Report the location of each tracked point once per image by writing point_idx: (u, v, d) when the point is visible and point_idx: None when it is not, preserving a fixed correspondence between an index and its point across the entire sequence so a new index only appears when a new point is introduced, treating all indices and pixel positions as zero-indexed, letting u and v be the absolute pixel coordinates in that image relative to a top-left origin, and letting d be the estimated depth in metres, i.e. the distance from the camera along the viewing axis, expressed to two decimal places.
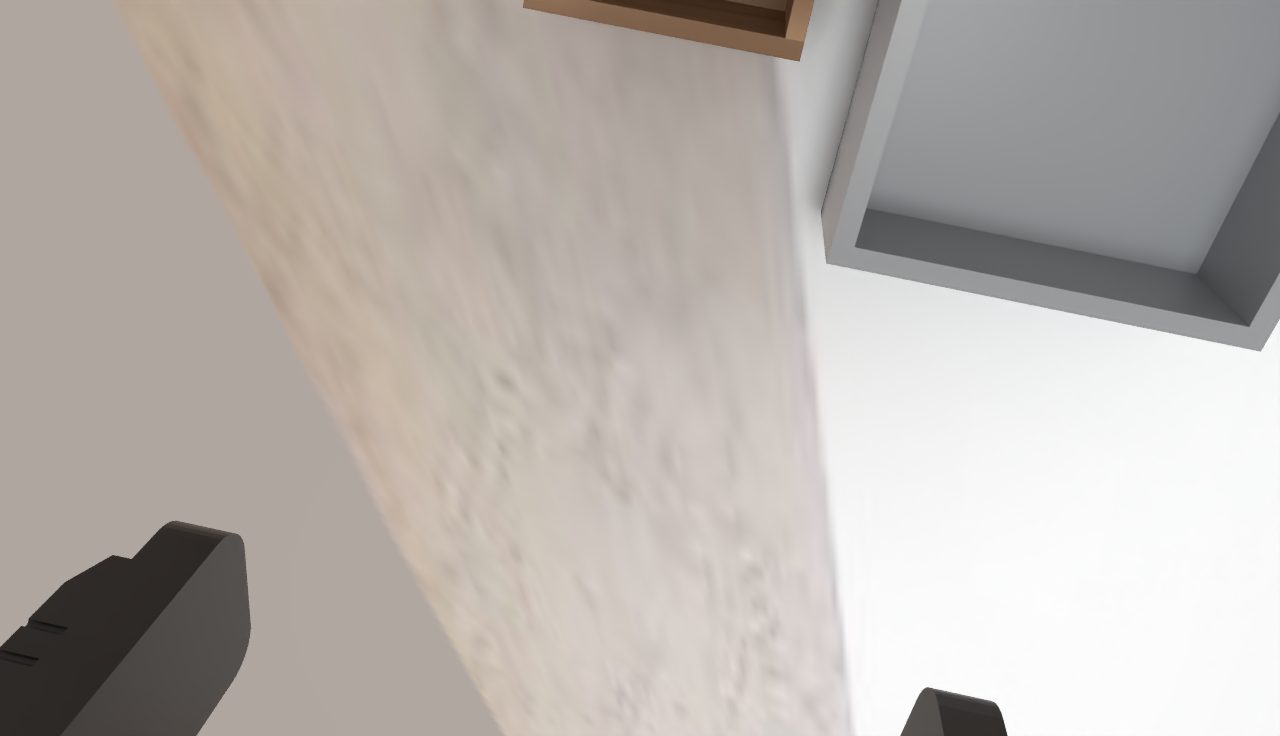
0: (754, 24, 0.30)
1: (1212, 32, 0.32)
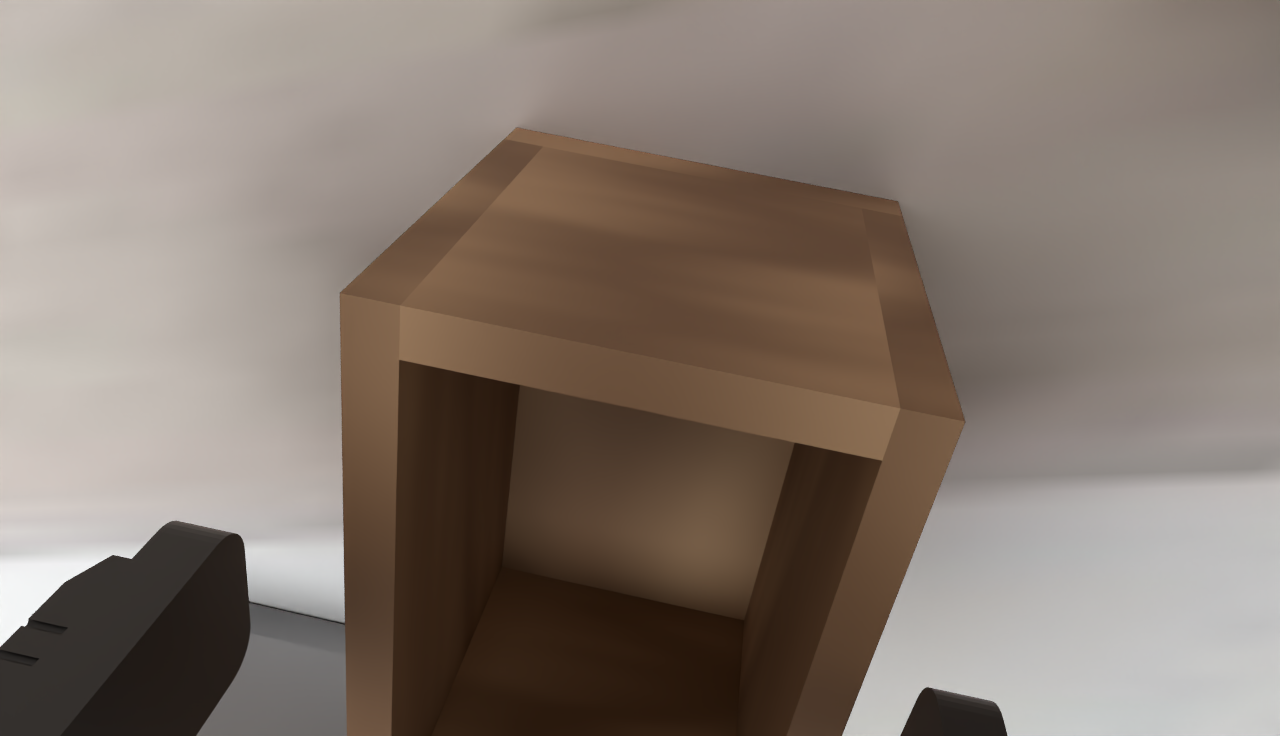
0: (428, 702, 0.14)
1: None
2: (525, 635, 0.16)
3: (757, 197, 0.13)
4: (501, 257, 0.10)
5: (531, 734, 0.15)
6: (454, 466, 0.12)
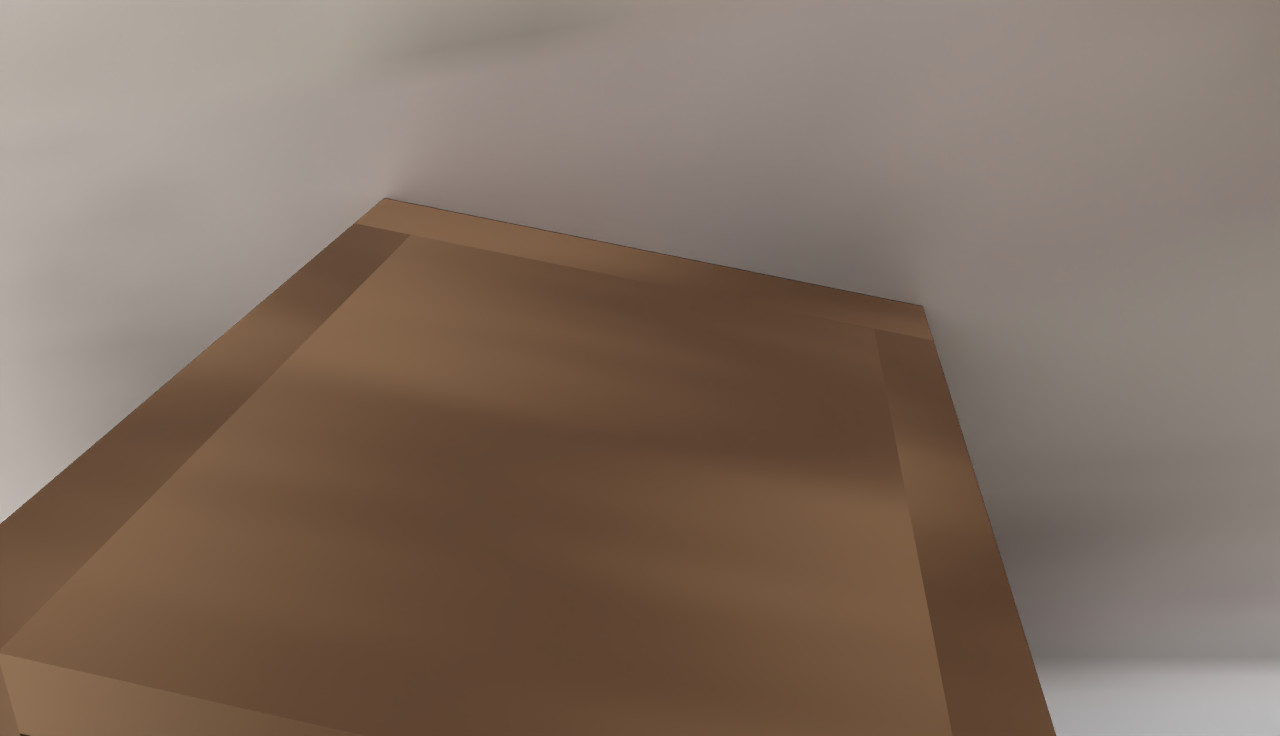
0: None
1: None
2: None
3: (721, 315, 0.09)
4: (260, 489, 0.06)
5: None
6: None
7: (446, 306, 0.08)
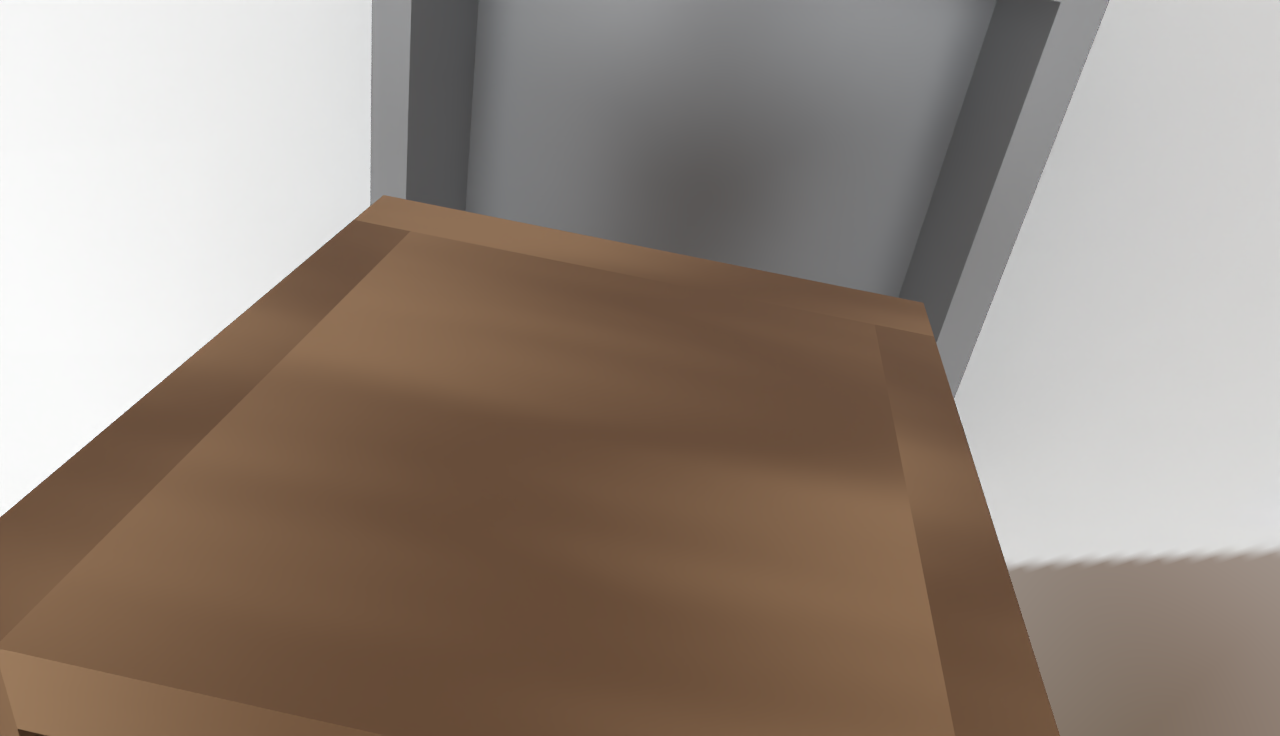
0: None
1: None
2: None
3: (721, 311, 0.09)
4: (259, 483, 0.06)
5: None
6: None
7: (445, 302, 0.08)
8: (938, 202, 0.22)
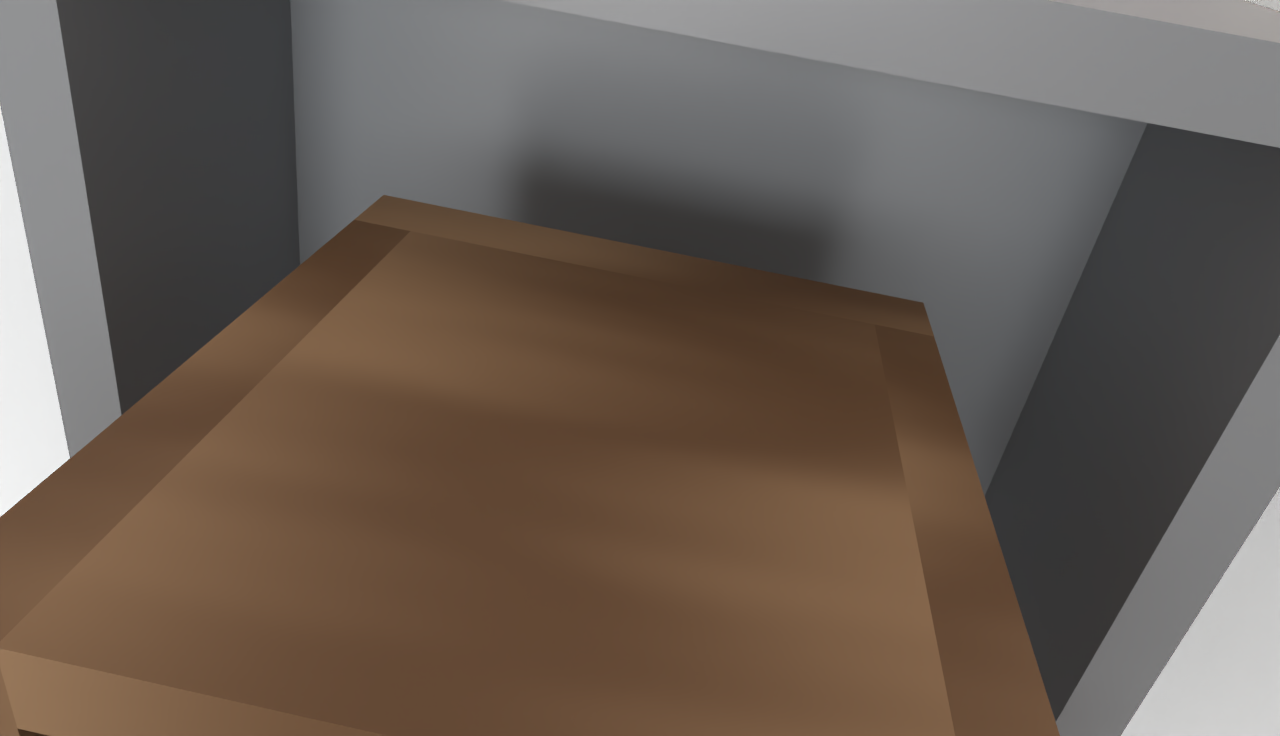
0: None
1: None
2: None
3: (721, 311, 0.09)
4: (259, 483, 0.06)
5: None
6: None
7: (446, 302, 0.08)
8: (1042, 422, 0.14)
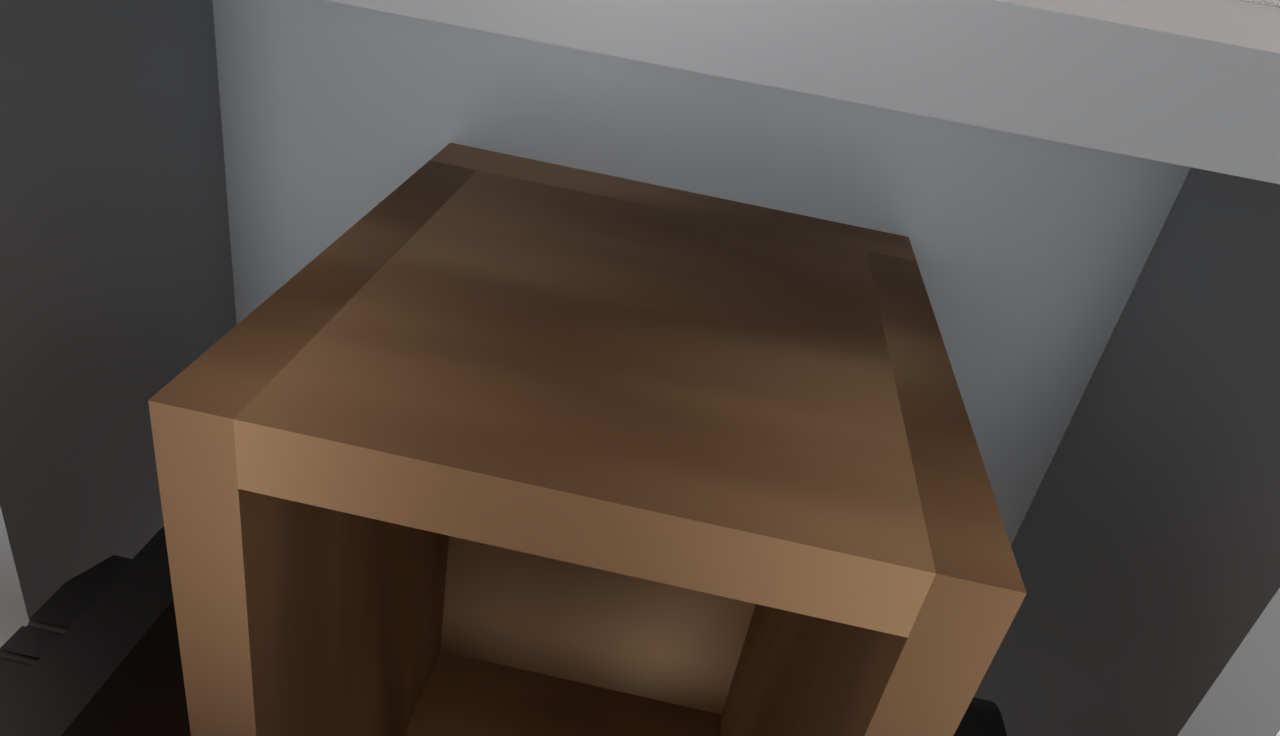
0: None
1: None
2: None
3: (739, 236, 0.11)
4: (394, 334, 0.07)
5: None
6: (355, 577, 0.10)
7: (514, 222, 0.10)
8: (1071, 489, 0.12)
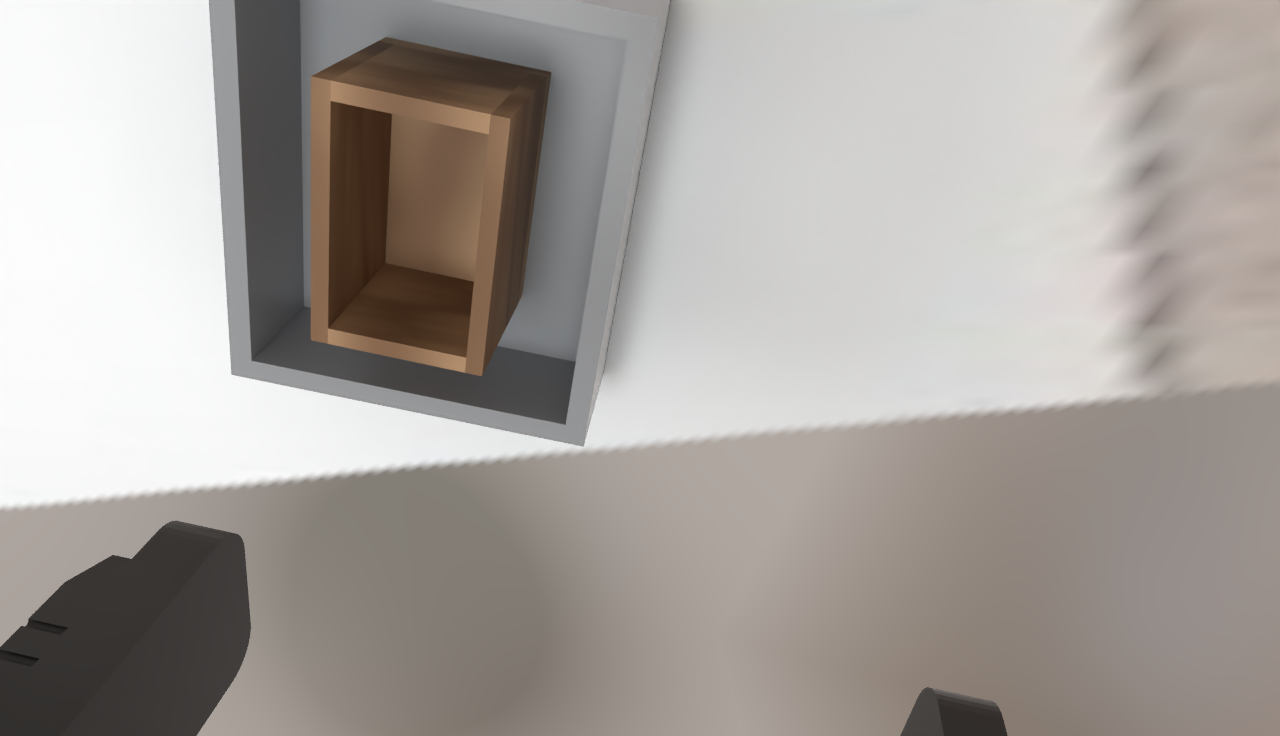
0: (345, 283, 0.32)
1: None
2: (394, 283, 0.35)
3: (484, 66, 0.31)
4: (367, 73, 0.28)
5: (392, 310, 0.33)
6: (354, 169, 0.30)
7: (405, 57, 0.31)
8: None
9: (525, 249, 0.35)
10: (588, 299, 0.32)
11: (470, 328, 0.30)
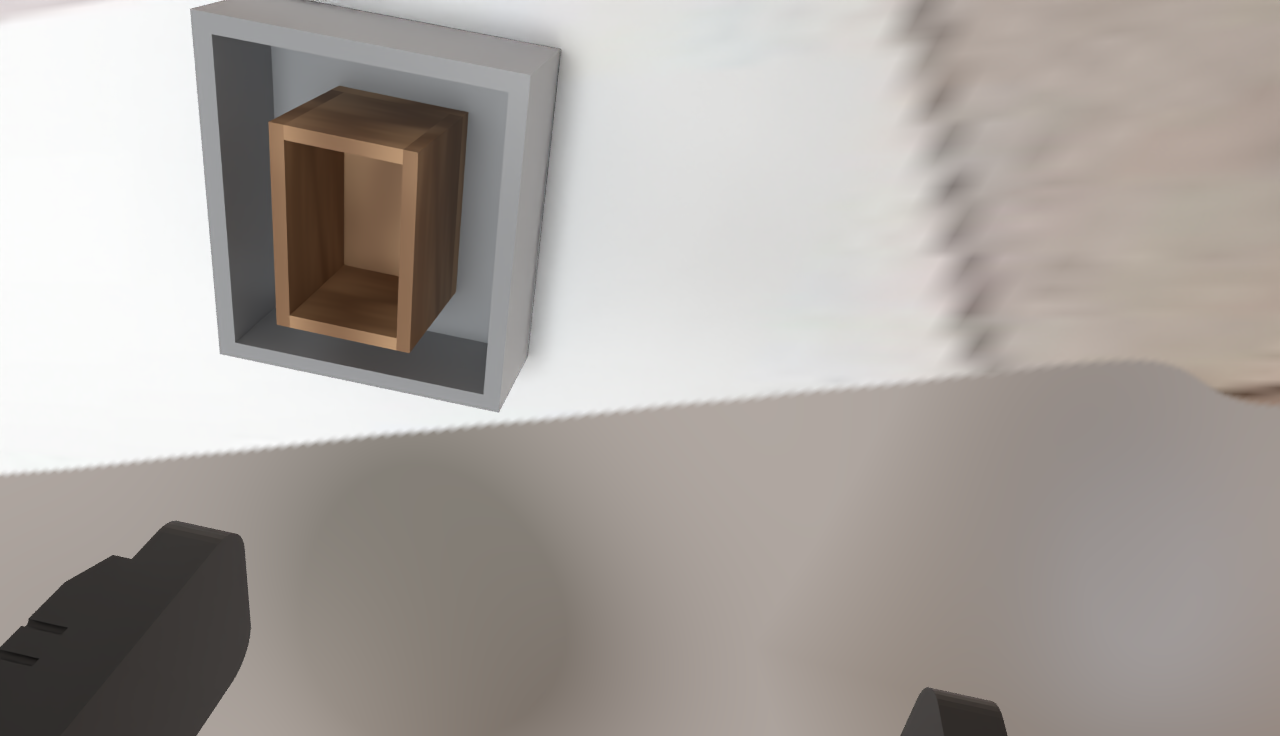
0: (304, 280, 0.40)
1: None
2: (348, 281, 0.43)
3: (412, 109, 0.40)
4: (314, 118, 0.37)
5: (343, 301, 0.41)
6: (309, 191, 0.39)
7: (349, 102, 0.39)
8: None
9: (454, 253, 0.44)
10: (493, 292, 0.40)
11: (398, 315, 0.39)
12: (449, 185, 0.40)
